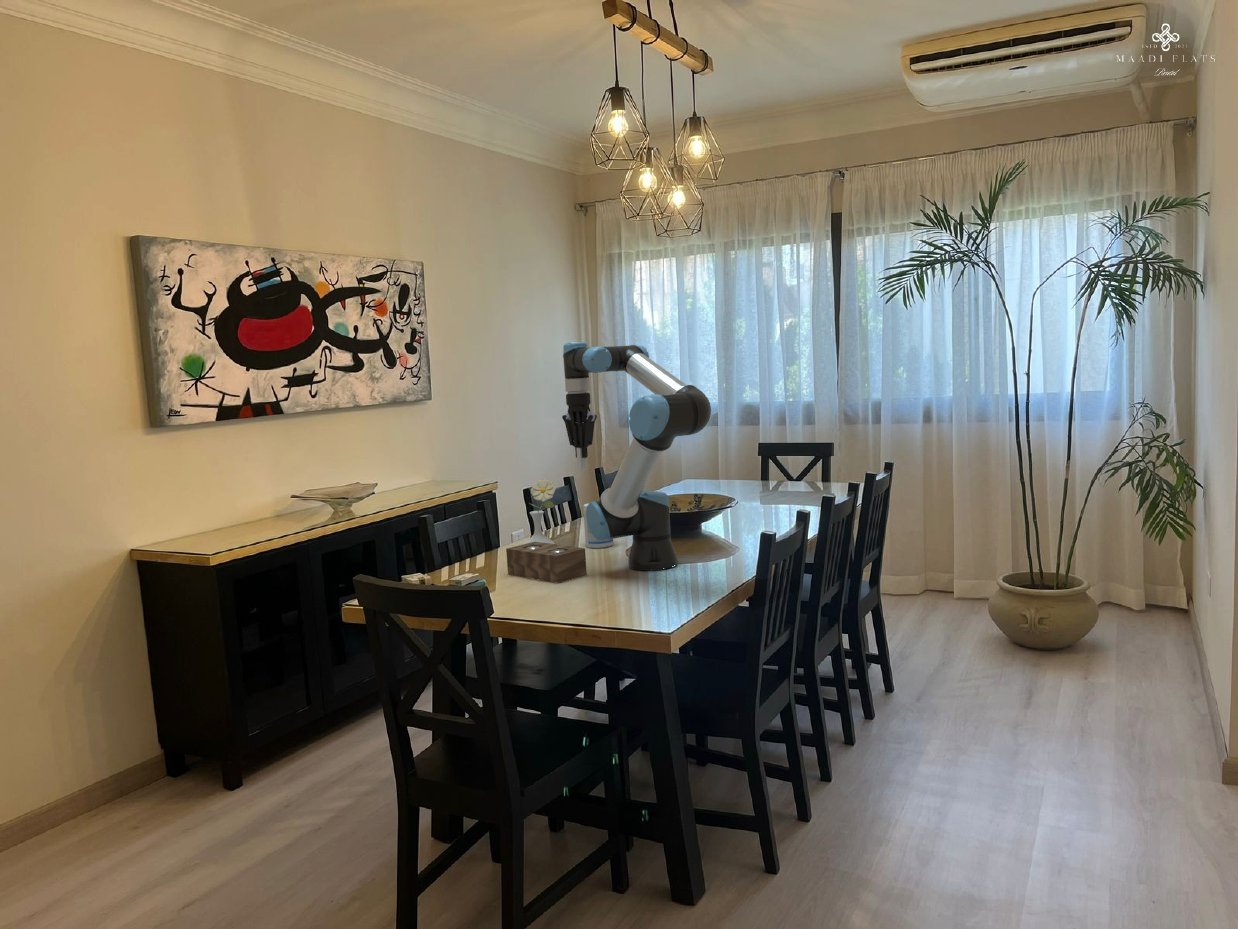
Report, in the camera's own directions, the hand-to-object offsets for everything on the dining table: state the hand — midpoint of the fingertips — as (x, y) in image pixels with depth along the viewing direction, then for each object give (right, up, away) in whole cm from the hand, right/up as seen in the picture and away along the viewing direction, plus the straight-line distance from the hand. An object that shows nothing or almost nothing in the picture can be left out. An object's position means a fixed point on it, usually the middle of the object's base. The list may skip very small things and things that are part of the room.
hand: (582, 468), depth 284 cm
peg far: (-15, -32, -5) cm, 35 cm away
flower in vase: (-15, -29, +25) cm, 41 cm away
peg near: (-6, -32, -12) cm, 35 cm away
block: (-10, -32, -8) cm, 35 cm away
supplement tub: (+5, -27, +30) cm, 41 cm away
